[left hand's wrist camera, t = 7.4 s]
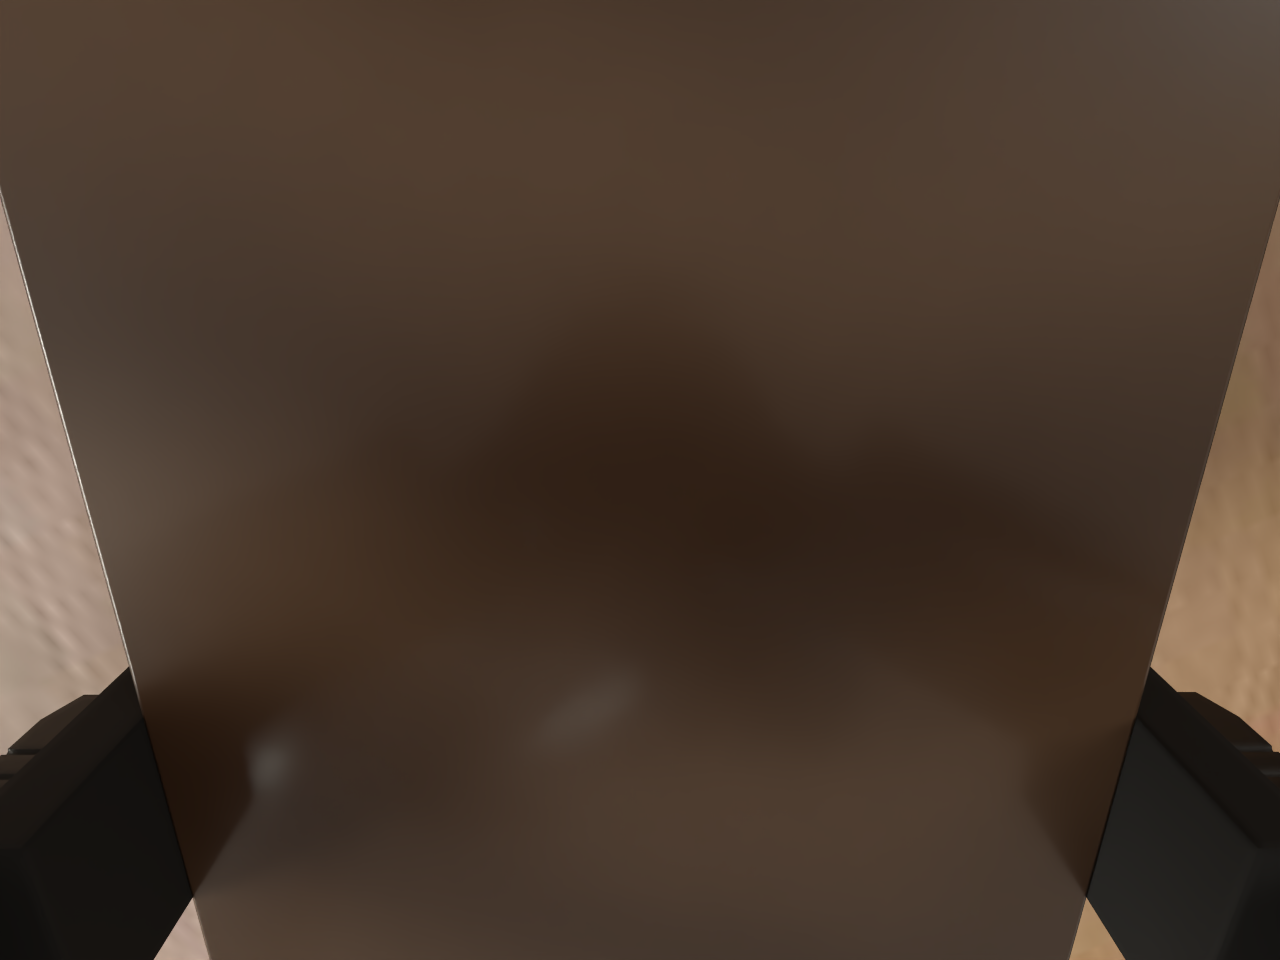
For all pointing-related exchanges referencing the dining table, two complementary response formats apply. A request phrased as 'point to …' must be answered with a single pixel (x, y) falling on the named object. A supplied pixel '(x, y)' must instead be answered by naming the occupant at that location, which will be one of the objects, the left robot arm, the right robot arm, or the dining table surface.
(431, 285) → the cabinet
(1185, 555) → the dining table surface
